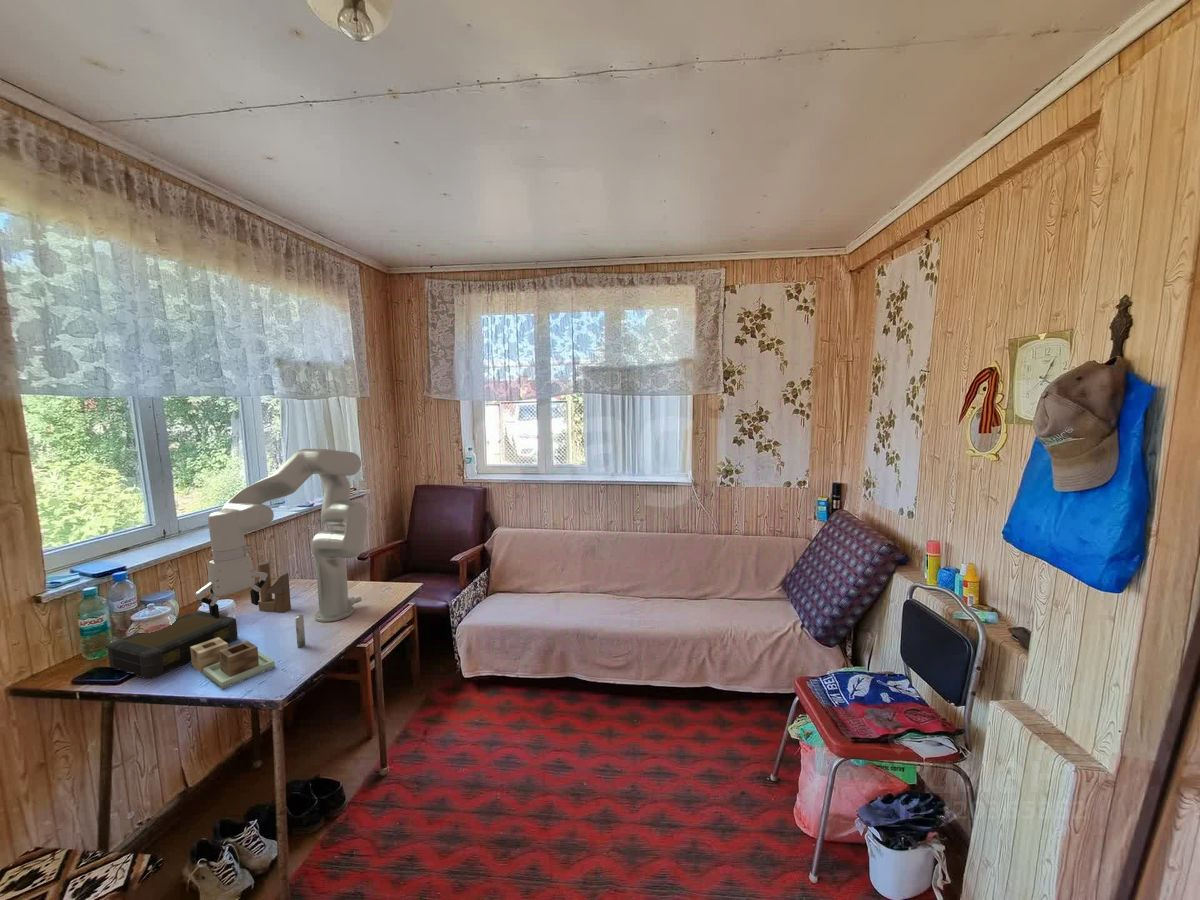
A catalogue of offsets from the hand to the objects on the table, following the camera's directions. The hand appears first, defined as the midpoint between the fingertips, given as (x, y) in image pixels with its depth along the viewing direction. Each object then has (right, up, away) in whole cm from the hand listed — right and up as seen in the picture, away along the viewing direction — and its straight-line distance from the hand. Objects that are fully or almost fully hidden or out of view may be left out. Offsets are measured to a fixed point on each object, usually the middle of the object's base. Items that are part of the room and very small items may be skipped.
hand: (236, 610), depth 140 cm
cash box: (-28, -18, +12) cm, 35 cm away
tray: (0, -18, +1) cm, 18 cm away
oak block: (-12, -18, +5) cm, 22 cm away
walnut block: (0, -17, +1) cm, 17 cm away
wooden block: (-17, -14, +42) cm, 48 cm away
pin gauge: (+9, -17, +16) cm, 25 cm away
